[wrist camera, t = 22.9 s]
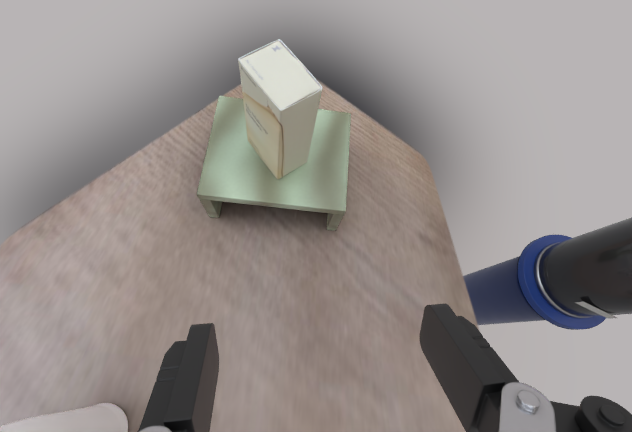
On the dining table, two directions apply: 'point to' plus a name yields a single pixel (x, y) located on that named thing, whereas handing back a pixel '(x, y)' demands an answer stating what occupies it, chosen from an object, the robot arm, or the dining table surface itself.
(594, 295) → the robot arm
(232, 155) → the shelf
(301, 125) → the cosmetic box
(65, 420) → the white tumbler
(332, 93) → the dining table surface
